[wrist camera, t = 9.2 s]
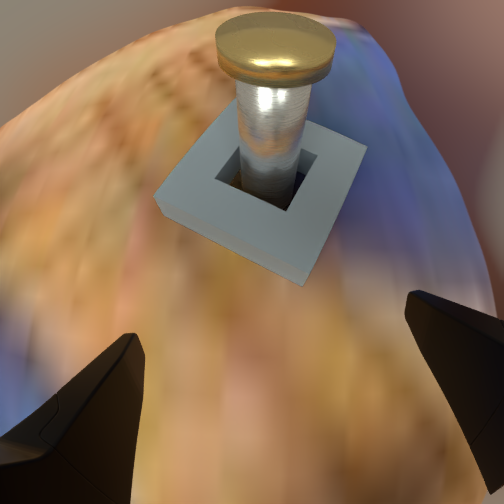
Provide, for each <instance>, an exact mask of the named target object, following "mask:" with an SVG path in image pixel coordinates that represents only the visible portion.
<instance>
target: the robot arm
mask: <svg viewBox="0 0 504 504" xmlns="http://www.w3.org/2000/svg"><path fill="white" fill-rule="evenodd" d="M405 319H406V321H407V323H408V325H409V327H410V330H411V332H412V334H413V336H414V338H415V341H416V343H417V345H418V347H419V349H420V351H421V353H422V355H423V357H424V359H425V361H426V362H427V364H428V366H429V368H430V369H431V371H432V373H433V375H434V377H435V379H436V380H437V382H438V384H439V386H440V388H441V390H442V392H443V393H444V395H445V397H446V399H447V401H448V403H449V405H450V407H451V409H452V411H453V413H454V415H455V417H456V419H457V421H458V423H459V425H460V427H461V429H462V431H463V433H464V435H465V438H466V440H467V442H468V444H469V446H470V449H471V451H472V453H473V455H474V458H475V460H476V462H477V465H478V467H479V469H480V472H481V474H482V477H483V479H484V481H485V484H486V487H487V489H488V491H489V493H490V494H493V493H494V492H496V491H497V490H498V489H500V488H501V487H502V486H504V320H499V319H498V318H495V317H493V316H490V315H487V314H485V313H482V312H479V311H477V310H474V309H471V308H468V307H466V306H463V305H460V304H458V303H455V302H452V301H449V300H447V299H444V298H441V297H438V296H436V295H433V294H430V293H427V292H424V291H422V290H415V291H411V292H409V293H408V296H407V301H406V307H405ZM144 370H145V354H144V351H143V348H142V345H141V343H140V340H139V338H138V336H137V334H136V333H125V334H123V335H122V336H121V337H119V338H118V339H117V340H116V341H115V342H114V343H112V344H111V345H110V346H109V347H108V348H107V349H106V350H104V351H103V352H102V353H101V354H100V355H99V356H97V357H96V358H95V359H94V360H93V361H92V362H91V363H89V364H88V365H87V366H86V367H85V368H84V369H83V370H81V371H80V372H79V373H78V374H77V375H76V376H75V377H73V378H72V379H71V380H70V381H69V382H68V383H67V384H66V385H64V386H63V387H62V388H61V389H60V390H59V391H58V392H57V394H54V395H53V396H52V397H51V398H50V399H49V400H48V401H46V402H45V403H44V404H43V405H42V406H41V407H39V408H38V409H37V410H36V411H34V412H33V413H32V414H31V415H29V416H28V417H27V418H25V419H24V420H23V421H21V422H20V423H19V424H17V425H16V426H15V427H13V428H12V429H11V430H9V431H8V432H7V433H5V434H4V435H3V436H1V437H0V504H130V500H131V489H132V478H133V469H134V460H135V452H136V444H137V436H138V429H139V422H140V416H141V409H142V402H143V391H144Z"/></svg>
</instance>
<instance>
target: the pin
mask: <svg viewBox="0 0 504 504" xmlns="http://www.w3.org/2000/svg"><path fill="white" fill-rule="evenodd" d="M215 38H216V48H217V58H218V64H219V66H220V68H221V69H222V70H223V71H224V72H225V73H226V74H227V75H229V76H230V77H232V78H234V79H235V82H236V99H237V115H238V131H239V147H240V163H241V179H242V191H243V192H245V193H247V194H250V195H252V196H254V197H256V198H258V199H260V200H263V201H265V202H267V203H269V204H271V205H273V206H275V207H277V208H280V209H283V208H285V207H286V206H287V205H288V204H289V202H290V201H291V198H292V194H293V188H294V183H295V178H296V172H297V167H298V162H299V156H300V151H301V145H302V140H303V134H304V128H305V122H306V117H307V111H308V105H309V99H310V93H311V87H312V84H314V83H316V82H318V81H320V80H322V79H324V78H325V77H326V76H327V75H328V74H329V72H330V70H331V67H332V62H333V57H334V52H335V47H336V38H335V36H334V34H333V33H332V32H331V31H330V30H329V29H328V28H327V27H325V26H324V25H322V24H321V23H319V22H317V21H315V20H312V19H309V18H307V17H303V16H300V15H295V14H290V13H283V12H256V13H249V14H244V15H240V16H237V17H234V18H232V19H230V20H228V21H226V22H224V23H223V24H222V25H220V26H219V27H218V29H217V31H216V34H215Z"/></svg>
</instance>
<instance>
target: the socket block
mask: <svg viewBox="0 0 504 504" xmlns="http://www.w3.org/2000/svg"><path fill="white" fill-rule="evenodd" d="M366 149H367V146H365V145H363V144H360V143H358V142H356V141H354V140H352V139H350V138H348V137H345V136H343V135H341V134H339V133H337V132H334V131H332V130H330V129H327V128H325V127H323V126H320V125H318V124H316V123H313V122H311V121H308V120H306V122H305V128H304V134H303V140H302V145H301V151H300V156H299V162H298V167H297V171H298V172H300V173H302V174H305V175H306V177H305V179H304V181H303V183H302V184H301V186H300V188H299V190H298V191H297V193H296V195H295V197H294V198H293V200H292V202H291V204H290V206H289V207H288V209H287V211H284V210H282V209H280V208H277V207H275V206H273V205H271V204H269V203H267V202H265V201H263V200H260V199H258V198H256V197H254V196H252V195H250V194H247V193H245V192H243V191H241V190H239V189H236V188H234V187H232V186H230V185H229V184H230V183H231V181H232V180H233V178H234V177H235V176H236V174H237V173H238V171H239V170H240V169H241V163H240V147H239V131H238V115H237V99H236V98H235V99H234V100H233V101H232V102H231V103H230V104H229V105H228V106H227V107H226V109H225V110H224V111H223V112H222V113H221V114H220V115H219V116H218V117H217V118H216V120H215V121H214V122H213V123H212V124H211V125H210V126H209V127H208V129H207V130H206V131H205V132H204V133H203V134H202V136H201V137H200V138H199V139H198V140H197V141H196V143H195V144H194V145H193V146H192V147H191V149H190V150H189V151H188V152H187V153H186V155H185V156H184V157H183V158H182V159H181V161H180V162H179V163H178V164H177V166H176V167H175V168H174V169H173V171H172V172H171V173H170V174H169V176H168V177H167V178H166V180H165V181H164V182H163V183H162V185H161V186H160V187H159V189H158V190H157V191H156V193H155V194H154V195H153V196H154V198H155V200H156V202H157V204H158V206H159V208H160V210H161V212H162V213H163V215H164V216H166V217H168V218H170V219H172V220H173V221H175V222H177V223H179V224H181V225H183V226H185V227H187V228H189V229H191V230H193V231H195V232H197V233H198V234H200V235H202V236H204V237H206V238H208V239H210V240H212V241H214V242H216V243H218V244H220V245H222V246H224V247H225V248H227V249H229V250H231V251H233V252H235V253H237V254H239V255H241V256H243V257H245V258H247V259H249V260H251V261H253V262H255V263H257V264H258V265H260V266H262V267H264V268H266V269H268V270H270V271H272V272H274V273H276V274H278V275H280V276H282V277H284V278H286V279H288V280H290V281H292V282H294V283H296V284H298V285H300V286H301V287H302V286H303V285H304V283H305V281H306V280H307V278H308V276H309V274H310V272H311V270H312V268H313V266H314V264H315V262H316V260H317V258H318V256H319V254H320V252H321V250H322V248H323V246H324V244H325V241H326V239H327V237H328V235H329V233H330V231H331V229H332V227H333V224H334V222H335V220H336V218H337V216H338V214H339V211H340V209H341V207H342V205H343V202H344V200H345V198H346V196H347V194H348V191H349V189H350V187H351V184H352V182H353V180H354V178H355V175H356V173H357V171H358V168H359V166H360V164H361V161H362V159H363V156H364V154H365V152H366Z"/></svg>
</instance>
